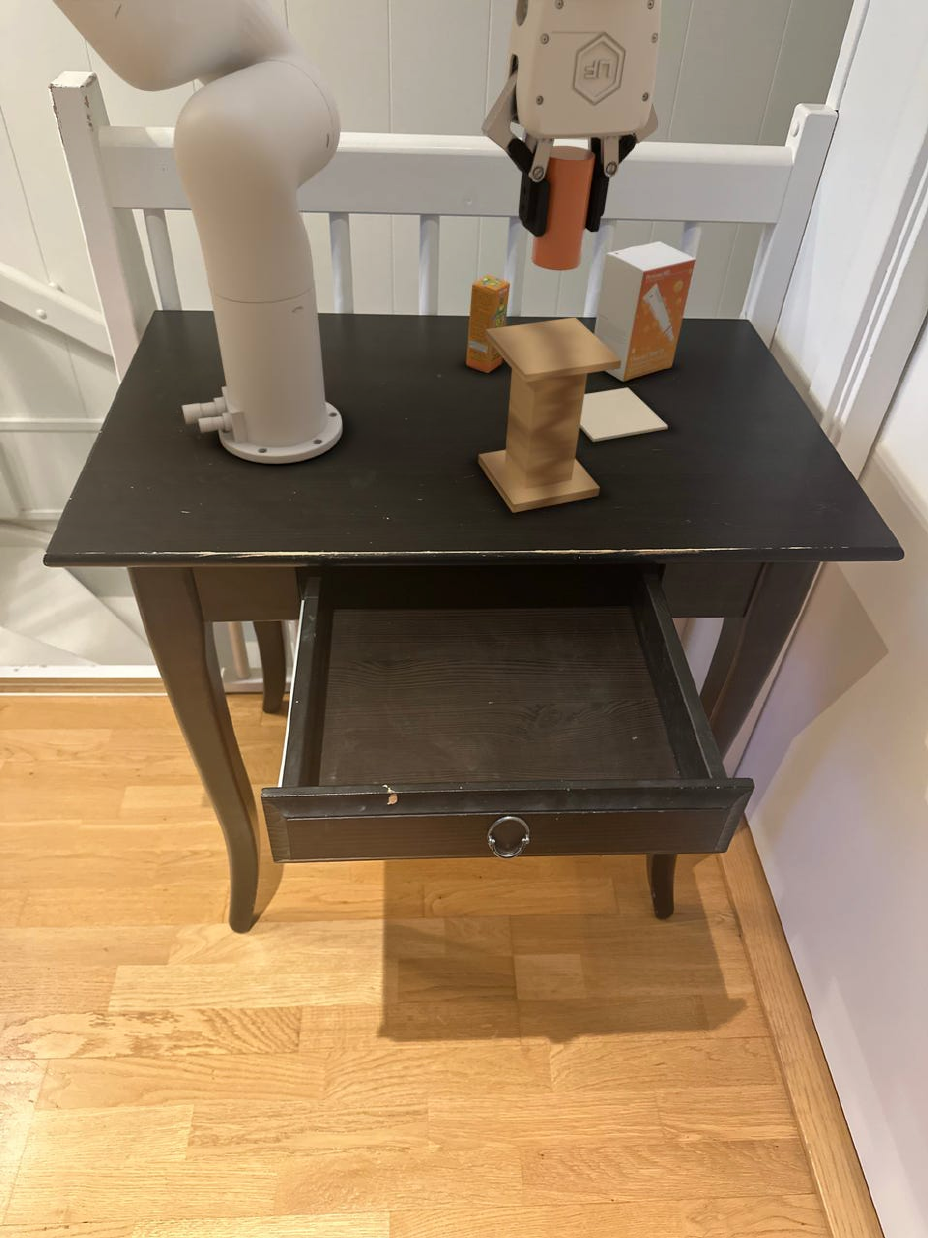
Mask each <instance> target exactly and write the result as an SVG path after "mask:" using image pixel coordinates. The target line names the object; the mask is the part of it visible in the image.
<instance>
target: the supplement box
mask: <svg viewBox="0 0 928 1238" xmlns="http://www.w3.org/2000/svg"><path fill="white" fill-rule="evenodd" d="M510 288H511V283H510V282H509V281H507V280H504V279H502V278H499V277H496V276H493V275H490V274H486V275H485V276H484V277H483V278H480V279H479V280H476V281H473V282H472V285H471V294H470V306H469V318H468V319H469V320H468V332H467V333H468V335H467V347H466V348H467V349H466V360H465V361H466V362H465V363H466V364H465V365H466V366H467V367H469V368H471V369H474V370H477V371H480V372H483V373H486V374H489V373H490V372H492V371H494V370H495V369H496V368H497V367H498V366H500V365H502V361H503V357H502V356H501V355H500V354H499V353H498V351H497V350H496V349H495V348H494V347H493V346H492V344H491V343H490V342H489V341H488V340H487V339H486V338H485V330H486V329H491V328H499V327H507V326H506V325H507V316H508V307H509V297H510Z"/></svg>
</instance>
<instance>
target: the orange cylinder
mask: <svg viewBox="0 0 928 1238" xmlns="http://www.w3.org/2000/svg"><path fill="white" fill-rule="evenodd" d="M594 163H595V154H594V153H593V152H592V151H590V150H588V148H584V147H579V146H574V145H553V147H552V151H551V155H550V158H549V162H548V166H547V170H546V176H545V179H546V180H547V181H548V182H550V185H551V189H550V198H549V207H548V216H547V225H546V233H545V235H543V237H535V236H534V235H533V239H532V249H531V257H530V258H531V259H530V260H531V262H532V263H533V264H534V265H535V266H537V267H540V268H542V269H545V270H550V271H570V270H571V271H572V270H574V269H576V268H578V267H579V266H580V265H581V262H582V261H581V260H582V254H583V246H584V239H585V232H586V228H585V226H586V219H587V212H588V205H589V198H590V191H591V184H592V177H593V170H594Z"/></svg>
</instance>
